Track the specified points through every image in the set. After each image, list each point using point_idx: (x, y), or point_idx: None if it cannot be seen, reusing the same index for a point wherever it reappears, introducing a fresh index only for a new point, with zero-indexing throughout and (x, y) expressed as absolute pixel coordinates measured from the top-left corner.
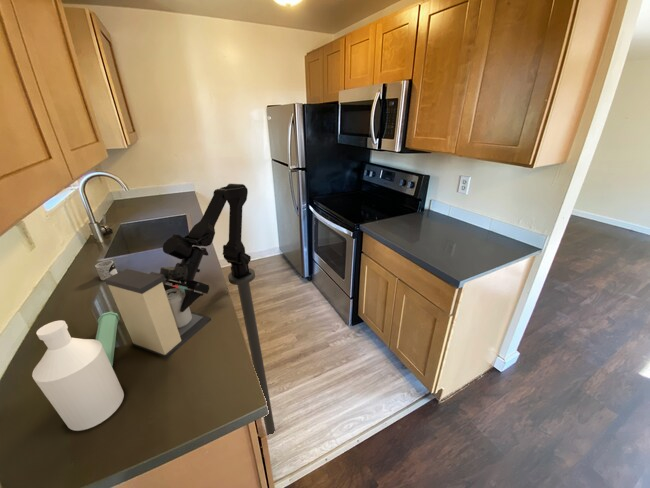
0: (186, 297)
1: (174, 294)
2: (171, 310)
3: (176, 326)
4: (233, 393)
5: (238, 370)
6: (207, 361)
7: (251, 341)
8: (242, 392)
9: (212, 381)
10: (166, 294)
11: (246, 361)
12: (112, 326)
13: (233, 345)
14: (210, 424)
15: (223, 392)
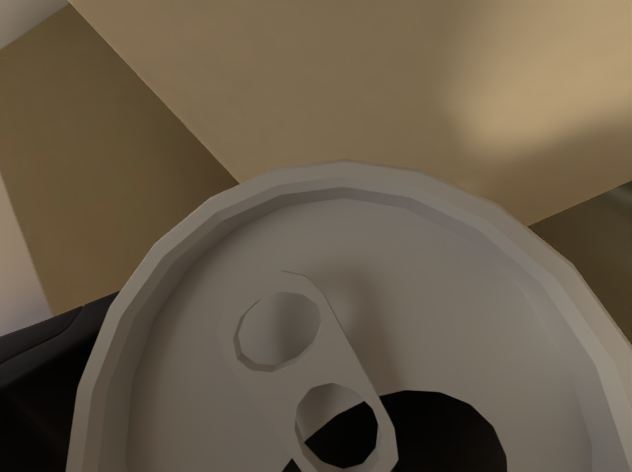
0: (4, 355)
1: (262, 419)
2: (71, 3)
3: (212, 152)
4: (26, 84)
5: (23, 145)
6: (126, 154)
7: None
8: (5, 91)
9: (87, 98)
10: (494, 403)
11: (3, 180)
12: None
13: (55, 238)
14: (61, 17)
15: (50, 80)
